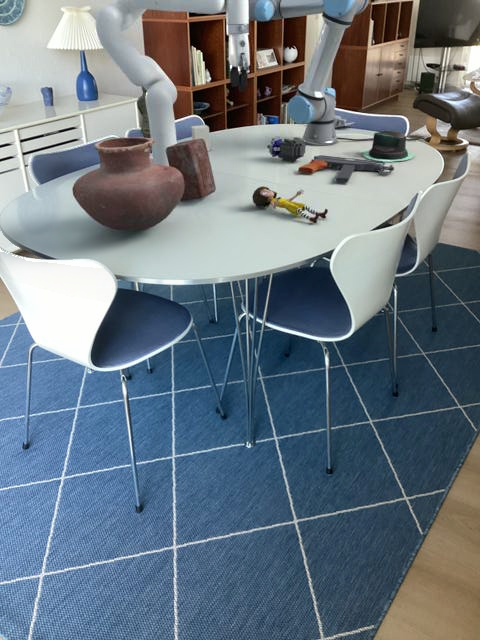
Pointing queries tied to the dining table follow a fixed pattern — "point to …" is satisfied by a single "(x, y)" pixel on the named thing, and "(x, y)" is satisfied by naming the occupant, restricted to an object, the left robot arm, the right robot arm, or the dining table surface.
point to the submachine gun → (343, 166)
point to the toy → (287, 148)
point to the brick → (201, 134)
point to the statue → (144, 115)
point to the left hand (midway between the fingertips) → (238, 84)
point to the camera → (338, 120)
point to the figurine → (284, 203)
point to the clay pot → (128, 186)
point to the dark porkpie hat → (388, 147)
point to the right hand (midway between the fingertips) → (238, 88)
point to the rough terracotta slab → (192, 168)
